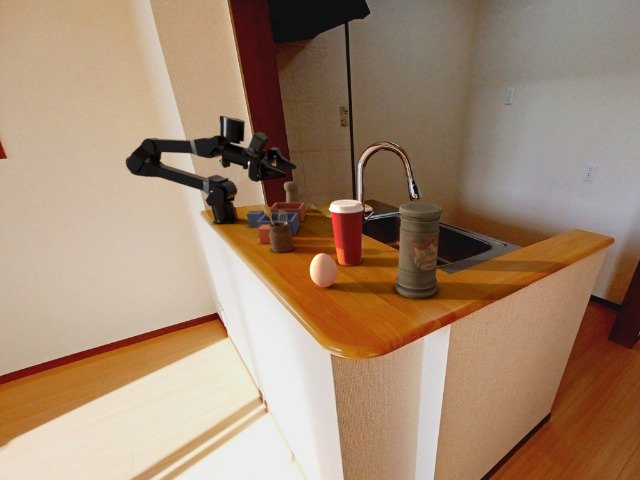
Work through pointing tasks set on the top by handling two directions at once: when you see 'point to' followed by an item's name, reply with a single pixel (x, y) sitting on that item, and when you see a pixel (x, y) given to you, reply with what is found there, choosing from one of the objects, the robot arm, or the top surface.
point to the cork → (291, 192)
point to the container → (418, 249)
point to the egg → (323, 270)
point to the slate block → (254, 217)
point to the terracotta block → (264, 234)
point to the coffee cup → (347, 230)
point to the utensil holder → (279, 234)
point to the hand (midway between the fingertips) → (291, 171)
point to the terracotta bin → (290, 209)
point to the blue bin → (281, 220)
